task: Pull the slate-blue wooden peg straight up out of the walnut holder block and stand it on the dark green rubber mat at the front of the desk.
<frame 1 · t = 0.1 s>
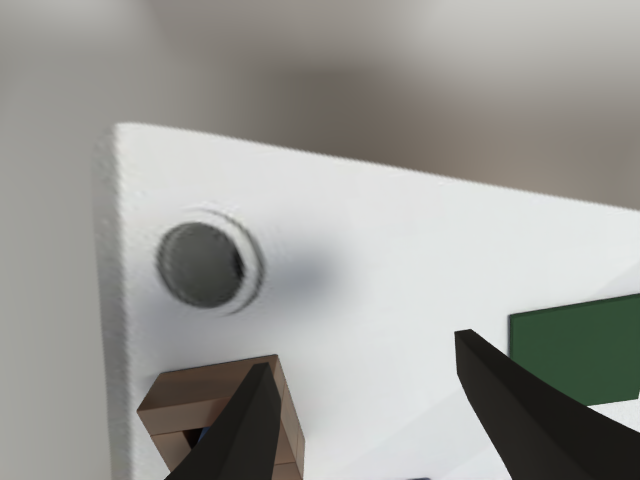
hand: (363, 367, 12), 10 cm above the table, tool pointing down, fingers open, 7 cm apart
mat: (575, 357, 25), on the table
holder: (236, 408, 27), on the table
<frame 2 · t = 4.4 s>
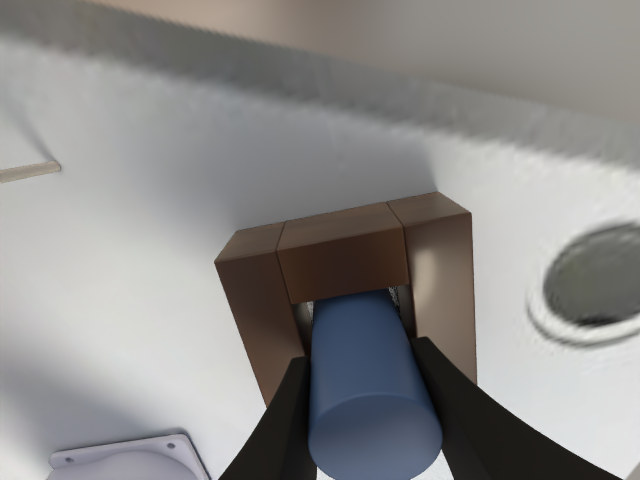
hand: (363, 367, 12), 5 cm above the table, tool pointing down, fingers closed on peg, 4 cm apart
lollipop: (58, 165, 14), on the table
peg: (359, 351, 13), in the holder, touching gripper
holder: (351, 298, 17), on the table
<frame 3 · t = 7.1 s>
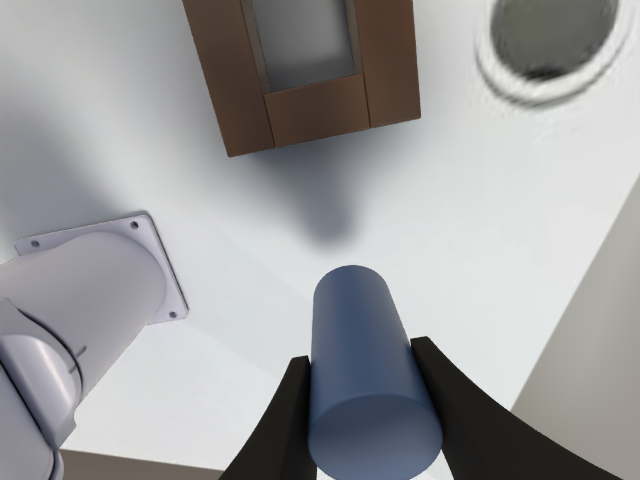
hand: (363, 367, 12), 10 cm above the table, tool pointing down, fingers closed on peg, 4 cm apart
peg: (359, 350, 13), point 10 cm above the table, touching gripper
holder: (305, 41, 17), on the table
when the fingers open (5 cm above the table, at t = 10.3 s): peg stays where it is, resting on mat.
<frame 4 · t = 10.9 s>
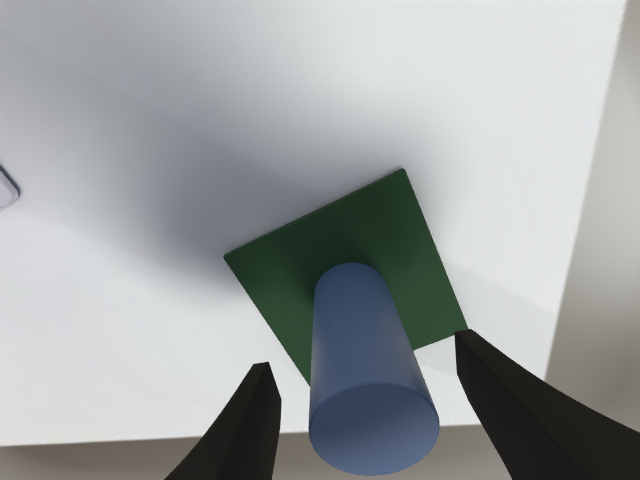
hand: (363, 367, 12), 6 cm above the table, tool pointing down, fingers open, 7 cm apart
peg: (359, 345, 13), on the mat
mat: (350, 291, 17), on the table
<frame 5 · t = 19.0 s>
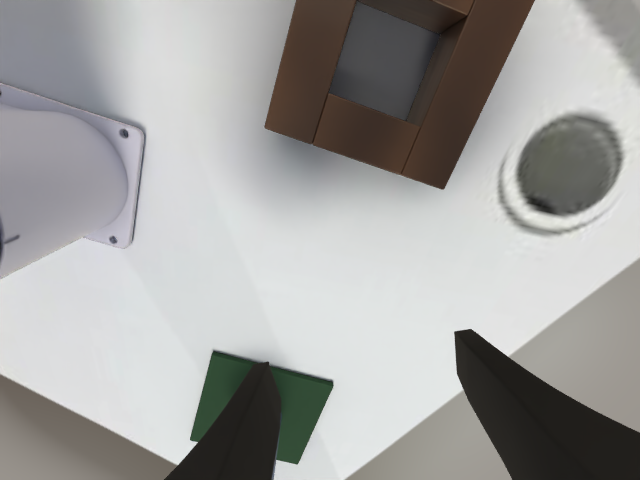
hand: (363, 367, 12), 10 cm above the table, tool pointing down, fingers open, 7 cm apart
mat: (259, 410, 27), on the table
holder: (381, 66, 18), on the table
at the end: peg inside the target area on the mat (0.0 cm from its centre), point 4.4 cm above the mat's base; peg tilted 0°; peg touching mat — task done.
